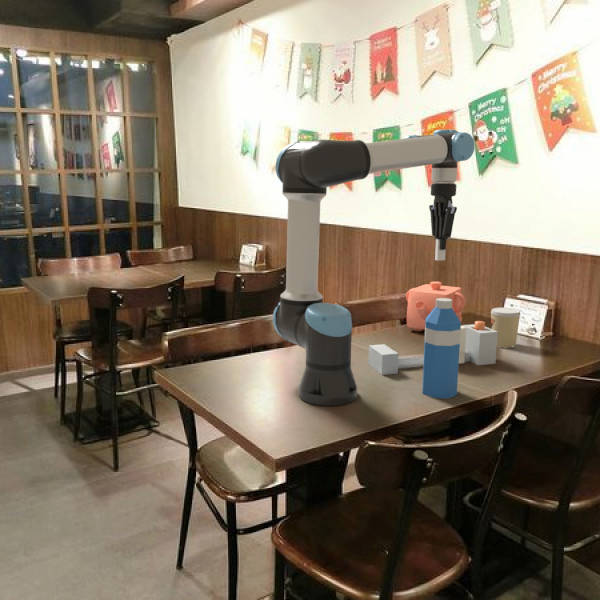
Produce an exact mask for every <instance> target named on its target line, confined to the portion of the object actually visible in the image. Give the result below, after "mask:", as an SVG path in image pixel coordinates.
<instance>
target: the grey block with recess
mask: <svg viewBox="0 0 600 600" xmlns="http://www.w3.org/2000/svg"><path fill="white" fill-rule="evenodd" d="M461 326H463V327H465V328H466V342H465V350H467V351H469V352H470V362H471V363H473V364H475V365H477V366H486V365H494V364H496V362H497V348H498V347H497V335H498V332H497V331H495V330H492V329H491V327H487V326H485V330H478V331H477V330H475V323H474V324H473V323H472V324H463V325H462V324H461Z"/></svg>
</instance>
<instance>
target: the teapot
mask: <svg viewBox="0 0 600 600" xmlns="http://www.w3.org/2000/svg"><path fill="white" fill-rule="evenodd" d="M462 290H463V289H462V287H458V286H450V285H443V283H442V281H441V282H440V281H431V282H430V283H428V284H427V283H425V284H422V285H420V286H417V287H412V288H410V289H409V290H408V291H406V295H405V298H406V301H407V308H406V311H407V312H406V327H407V328H411V329H413V331H414V332H424V331H425V321H426V317H427V316H428V315H429V314H430V313H431V311H432V310H433V309H434V308H435V307H436V299H438V298H448V299H452V309H453V310H454V312H455V313H456V315H457V316H458V318H459V320H460V322H461V323H462V321H463V316H462V311H463V309H464V308H465V306H466V301H467V299H466V297H465V296H464V295H463V293H462Z"/></svg>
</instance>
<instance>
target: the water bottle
mask: <svg viewBox="0 0 600 600" xmlns="http://www.w3.org/2000/svg"><path fill="white" fill-rule="evenodd" d="M461 326H462V322H460V320H459V318H458V316H457V315H456V313H455V312H454V310H453V309H452V299H448V298H438V299H436V307H435V308H434V309H433V310H432V311H431V313H430V314H429V315H428V316H427V317H426V321H425V330H424V342H423V343H424V345H423V346H424V349H423V354H424V366H422V367H423V371H422V395H426V396H428V397H430V398H433V399H434V398H435V399H450V398H453V397H456V396H458V381H459V379H458V378H459V365H460V364H459V348H460V331H461Z"/></svg>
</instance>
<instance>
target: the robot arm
mask: <svg viewBox="0 0 600 600" xmlns="http://www.w3.org/2000/svg"><path fill="white" fill-rule="evenodd" d="M474 151H475V140H474V138H473V136H472V135H471V134H470V133H468V132H465V131H464V132H461V131H458V130H456V129H436V130H434V131H433V134H426V135H417V134H412V135H406V136H405V137H403V138H400V139H391V140H390V139H389V140H384V141H375V142H373V141H372V142H365V141H363V140H361V139H357V140H338V139H337V140H335V139H317V140H300V141H295V142H293V143H289V144H287V145H286V146H285V147H284V148H283V149H282V150H280V152H279V154H278V155H277V157H276V162H275V173H276V176H277V178H278V179H279V181H280V182H281V183H282V191H281V192H282V193H281V194H282V195H283V196H284V197H285V198H286V200H287V231H286V232H287V233H286V240H287V241H286V269H285V270H286V273H285V274H286V277H285V278H286V279H285V282H286V283H285V290H284V291H283V292H282V293H280V296H279V297H280V298H279V299H280V300H279V302H278V304H277V306H275V308H274V310H273V314H272V324H273V328H274V330H275V331H276V333H277V334H278V335H279V336H280V337H281V338H283V339H284V340H285V341H287V342H289V343H291V344H294V345H297V346H298V347H301V348H303V349H305V368H304V371H303V372H302V373H303V374H302V377H301V379H300V383H299V386H298V396H299V398H300V399H301V400H302V401H303V402H306V403H308V404H311V405H317V406H324V407H325V406H326V407H331V406H332V407H333V406H342V405H347V404H349V403H352V402H354V401H355V400H356V399H357V398H358V386H357V384H356V379H355V376H354V374H353V370H352V337H353V335H352V333H353V332H352V331H353V323H352V322H353V321H352V320H353V319H352V314H351V312H350V311H349V309H347V308H346V307H344V306H342V305H340V304H336V303H335V304H334V303H330V302H324V301H323V300H324V299H323V298H324V296H323V294H321V292H319V290H318V286H319V285H318V284H319V256H320V254H319V251H320V226H321V225H320V224H321V223H320V222H321V220H320V219H321V202H322V200H323V199H324V198H325V197H326V196H327V189H328V188H329V187H334V186H338V185H342V184H345V183H349V182H355V181H359V180H364V179H366V178H367V177H368V176H369V175H372V174H377V173H384V172H390V171H391V172H393V171H397V170H404V169H409V168H410V169H411V168H417V167H423V166H429V165H431V182H432V183H431V184H430V195H431V196H432V197H434V199H433V204H430V205H429V206H428V207H429V212H430V223H431V236H432V237H434V239H435V251H434V252H435V254H434V257H435V258H434V260H435V261H446V250H447V240H448V239H449V238H451V237H452V232H453V226H454V220H455V216H456V215H455V214H456V212H457V210H458V208H457V206H454V205H453V197H455V196H456V195H457V184H456V182H457V180H458V177H457V176H458V174H459V173H458V162H465V161H468V160H469V159H470V158H471V157H472V156H473V154H474Z"/></svg>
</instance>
